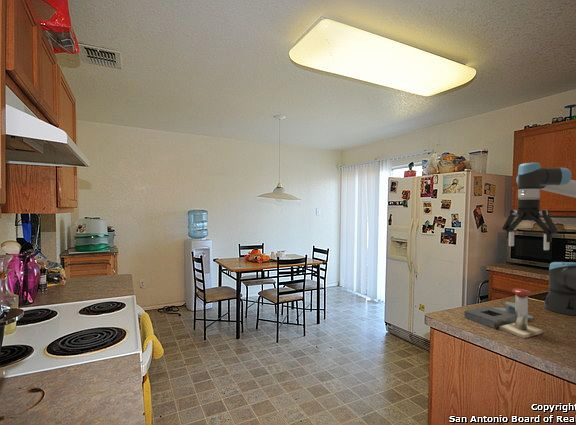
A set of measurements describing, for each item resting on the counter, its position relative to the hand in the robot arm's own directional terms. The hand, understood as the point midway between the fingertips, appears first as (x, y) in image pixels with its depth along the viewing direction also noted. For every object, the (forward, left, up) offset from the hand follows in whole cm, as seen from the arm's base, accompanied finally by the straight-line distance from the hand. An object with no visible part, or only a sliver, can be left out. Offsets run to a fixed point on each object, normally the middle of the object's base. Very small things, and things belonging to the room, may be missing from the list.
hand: (528, 247), depth 134 cm
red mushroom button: (+16, +7, -30) cm, 35 cm away
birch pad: (+16, +7, -32) cm, 36 cm away
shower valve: (-1, -6, -32) cm, 33 cm away
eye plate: (+15, -6, -32) cm, 35 cm away
